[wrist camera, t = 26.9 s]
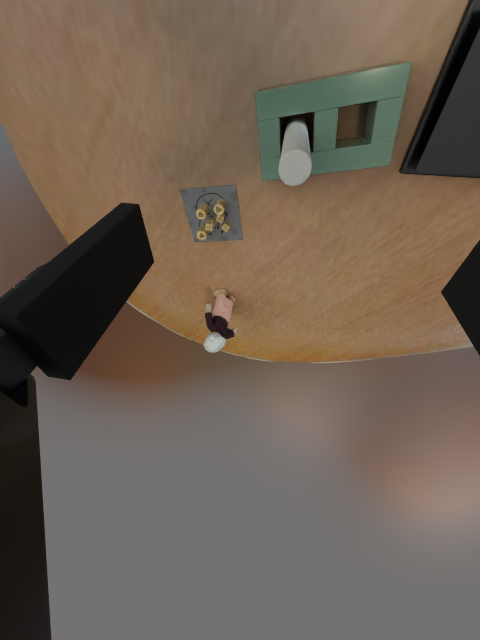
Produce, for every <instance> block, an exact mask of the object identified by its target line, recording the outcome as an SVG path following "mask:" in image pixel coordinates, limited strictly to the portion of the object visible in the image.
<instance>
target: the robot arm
mask: <svg viewBox="0 0 480 640" xmlns="http://www.w3.org/2000/svg"><path fill="white" fill-rule="evenodd" d="M153 263H154V260H153V256H152V252H151V248H150V244H149V240H148V237H147V233H146V229H145V225H144V221H143V218H142V214H141V210H140V206H139V204H130V203H121V204H119V205H118V206H117V207H116V208H114V209H113V210H112V211H111V212H110V213H108V214H107V215H106V216H105V217H103V218H102V219H101V220H100V221H99V222H97V223H96V224H95V225H94V226H92V227H91V228H90V229H89V230H88V231H86V232H85V233H84V234H83V235H81V236H80V237H79V238H78V239H76V240H75V241H74V242H73V243H72V244H70V245H69V246H68V247H67V248H66V249H64V250H63V251H62V252H61V253H59V254H58V255H57V256H56V257H54V258H53V259H52V260H51V261H50V262H48V263H46V264H44V265H42V266H40V267H38V268H37V269H35V270H34V271H33V272H32V273H30V274H29V275H28V276H27V277H25V280H22V281H20V282H19V283H18V284H17V285H15V288H12V289H10V290H9V291H8V292H7V293H6V294H4V295H3V296H2V297H0V640H51V627H50V611H49V595H48V578H47V561H46V545H45V531H44V530H45V528H44V513H43V495H42V481H41V462H40V446H39V430H38V413H37V399H36V398H37V397H36V382H35V379H34V377H33V376H32V375H31V374H30V373H31V372H32V371H33V370H34V369H35V367H36V366H38V367H39V368H40V369H41V370H42V371H43V372H44V373H45V374H46V375H47V376H48V377H54V378H61V379H66V380H71V379H72V377H73V376H74V374H75V373H76V372H77V370H78V369H79V367H80V366H81V364H82V363H83V362H84V360H85V359H86V358H87V356H88V355H89V353H90V352H91V350H92V349H93V348H94V346H95V345H96V343H97V342H98V340H99V339H100V338H101V336H102V335H103V334H104V332H105V331H106V329H107V328H108V326H109V325H110V324H111V322H112V321H113V319H114V318H115V317H116V315H117V314H118V312H119V311H120V309H121V308H122V307H123V305H124V304H125V302H126V301H127V300H128V298H129V297H130V295H131V294H132V293H133V291H134V290H135V288H136V287H137V285H138V284H139V283H140V281H141V280H142V278H143V277H144V276H145V274H146V273H147V271H148V270H149V269H150V267H151V266H152V264H153ZM441 293H442V295H443V296H444V298H445V300H446V301H447V303H448V305H449V306H450V308H451V309H452V311H453V313H454V314H455V316H456V318H457V319H458V321H459V323H460V324H461V326H462V328H463V329H464V331H465V332H466V334H467V336H468V337H469V339H470V341H471V342H472V344H473V346H474V347H475V349H476V350H477V352H478V354H479V355H480V240H479V242H478V243H477V244H476V246H475V247H474V248H473V250H472V251H471V252H470V254H469V255H468V256H467V258H466V259H465V261H464V262H463V263H462V265H461V266H460V267H459V269H458V270H457V271H456V273H455V274H454V275H453V277H452V278H451V279H450V281H449V282H448V283H447V285H446V286H445V287H444V289H443V290H442V291H441Z"/></svg>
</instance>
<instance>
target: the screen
mask: <svg viewBox="0 0 480 640" xmlns="http://www.w3.org/2000/svg"><path fill="white" fill-rule="evenodd" d="M415 172H419V173H435V174H451V175H467V176H480V28H479V30H478V33H477V35H476V37H475V39H474V41H473V44H472V46H471V48H470V50H469V52H468V55H467V57H466V59H465V61H464V64H463V66H462V68H461V70H460V72H459V75H458V77H457V79H456V81H455V83H454V86H453V88H452V90H451V92H450V95H449V97H448V99H447V101H446V103H445V106H444V108H443V110H442V112H441V114H440V117H439V119H438V121H437V123H436V125H435V128H434V130H433V132H432V134H431V137H430V139H429V141H428V143H427V145H426V148H425V150H424V152H423V154H422V156H421V159H420V161H419V163H418V165H417V167H416V170H415Z"/></svg>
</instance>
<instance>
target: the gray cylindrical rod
mask: <svg viewBox="0 0 480 640" xmlns="http://www.w3.org/2000/svg"><path fill="white" fill-rule="evenodd" d="M311 170H312V161H311V153H310V145H309V138H308V130H307V123H306V121H305V119H304V118H302V117H300V116H295V117H293V118H291V119H290V120H289V121H288V123H287V125H286V129H285V135H284V141H283V146H282V152H281V157H280V163H279V175H280V178H281V180H282V181H283V182H284V183H285V184H287V185H290V186H297V185H300V184H302V183H303V182H305V181H306V180H307V179H308V177H309V175H310V173H311Z"/></svg>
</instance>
